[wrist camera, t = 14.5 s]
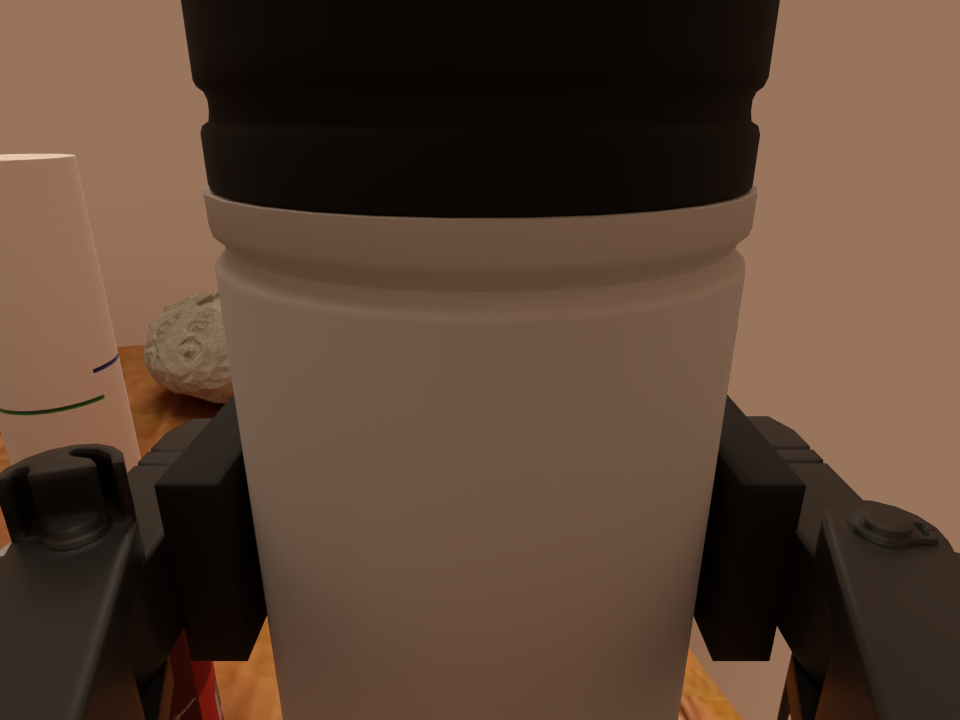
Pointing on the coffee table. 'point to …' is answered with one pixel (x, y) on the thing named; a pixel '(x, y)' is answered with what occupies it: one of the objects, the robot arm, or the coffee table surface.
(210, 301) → the decorative shell
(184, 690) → the canned food
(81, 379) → the cylindrical container
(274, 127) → the travel mug
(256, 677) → the coffee table surface
